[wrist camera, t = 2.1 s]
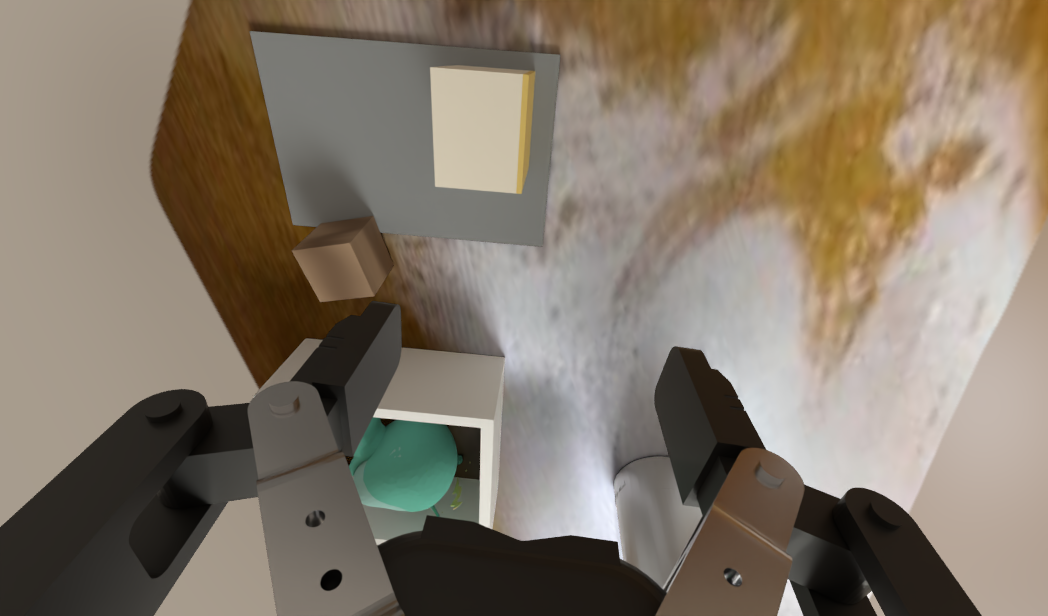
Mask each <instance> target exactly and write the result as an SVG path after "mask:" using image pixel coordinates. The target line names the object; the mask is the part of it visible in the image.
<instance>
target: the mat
mask: <svg viewBox="0 0 1048 616" xmlns="http://www.w3.org/2000/svg"><path fill="white" fill-rule="evenodd" d="M250 35H251V39H252V44H253V48H254V53H255V57H256V62H257V66H258V70H259V75H260V79H261V84H262V88H263V93H264V97H265V102H266V106H267V111H268V115H269V120H270V124H271V129H272V133H273V138H274V142H275V146H276V151H277V155H278V160H279V164H280V169H281V173H282V178H283V182H284V187H285V191H286V196H287V200H288V205H289V209H290V213H291V218H292V222H293V225H300V226H311V227H318V226H319V225H320V224H321V223H327V222H334V221H341V220H348V219H355V218H362V217H369V216H374V219H375V221H376V224H377V226H378V228H379V231H380V233H391V234H402V235H413V236H425V237H436V238H447V239H459V240H470V241H481V242H493V243H504V244H515V245H527V246H538V247H542V245H543V234H544V224H545V213H546V202H547V192H548V181H549V170H550V160H551V149H552V139H553V128H554V117H555V107H556V96H557V85H558V75H559V64H560V55H557V54H544V53H530V52H517V51H504V50H491V49H478V48H465V47H452V46H438V45H425V44H412V43H399V42H386V41H373V40H360V39H346V38H333V37H320V36H307V35H294V34H281V33H268V32H255V31H250ZM453 65H463V66H476V67H489V68H502V69H515V70H528V71H535V84H534V99H533V113H532V127H531V142H530V156H529V168H528V172H527V175H526V179H525V183H524V186H523V190H522V194H515V193H504V192H492V191H480V190H468V189H456V188H445V187H435V173H434V149H433V125H432V101H431V78H430V67H439V66H453Z"/></svg>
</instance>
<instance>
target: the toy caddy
mask: <svg viewBox="0 0 1048 616" xmlns="http://www.w3.org/2000/svg"><path fill="white" fill-rule="evenodd" d="M322 341H323V340H319V339H309V338H306V339H305V340H304V341H303V342H302V343H301V344H300V345H299V346H298V347H297V349H296V350H295V351H294V352H293V353H292V354H291V355H290V356H289V357H288V358H287V360H286V361H285V362H284V363H283V364H282V365H281V366H280V367H279V368H278V370H277V371H276V372H275V373H274V374H273V375H272V376H271V377H270V378H269V380H268V381H267V382H266V383H265V384H264V385H263V386H262V387H261V388H260V390H259V391H258V392H257V393H256V394H255V395H254V397H255V396H256V395H257V394H258V393H259V392H261V391H262V390H264V389H266V388H268V387H270V386H272V385H275V384H278V383H283V382H289V381H290V380H291V379H292V378H293V376H294V375H295V374H296V373H297V371H298V370H299V369H300V368H301V367H302V365H303V364H304V363H305V362H306V360H307V359H308V358H309V357H310V355H311V354H312V353H313V352H314V350H315V349H316V348H318V347H319V344H320V343H321V342H322ZM504 368H505V357H497V356H487V355H476V354H466V353H455V352H445V351H435V350H424V349H414V348H403V347H402V349H401V357H400V361H399V365H398V368H397V370H396V372H395V374H394V376H393V378H392V380H391V382H390V384H389V386H388V388H387V390H386V392H385V394H384V396H383V398H382V400H381V402H380V404H379V406H378V408H377V410H376V412H375V414H374V416H373V417H376V418H386V419H396V420H406V421H416V422H426V423H436V424H446V425H456V426H466V427H476V428H481V449H480V480H478V479H469V478H459V477H458V480H459V486H461V487H462V490H461V495H460V497H459V499H458V501H457V502H462V503H461V504H460V505H459V506H458V507H457V508H455V509H454V506H450V505H451V504H452V502H453V501H454V499H455V498H456V496H457V494H453V492H454V489H455V486H456V482H457V477H454V478H453V481H452V483H451V485H450V487H449V489H448V490H447V492H446V493H445V495H444V496H443V497H442V498H441V499H440V500H439V501H438V502H437V503H436V504H434V506H435V508H436V510H437V512H438V513H439V515H440V517H444V518H451V519H458V520H465V521H472V522H476V523H478V524H481V525H483V526H485V527H488V528H490V529H492V527H493V520H494V513H495V506H496V499H497V492H498V481H499V462H500V443H501V424H502V406H503V387H504ZM352 477H353V478H354V476H352ZM452 494H453V495H452ZM362 505H363V508H364V511H365V513H366V516H367V519H368V522H369V524H370V527H371V530H372V533H373V536H374V538H375V541H376V544H377V545H379V544H381V543H383V542H385V541H387V540H389V539H392V538H394V537H397V536H400V535H403V534H407V533H411V532H415V531H422V530H423V527H424V523H425V519H426V516H427V515H430V516H436V514H435V513H434V512H433V510H432V509H431V507H430V508H428V509H425V510H422V511H417V512H408V511H396V510H391V509H387V508H379V507H370V506H367V505H364V504H362ZM453 509H454V510H453ZM442 512H443V513H442Z"/></svg>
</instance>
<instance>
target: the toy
mask: <svg viewBox="0 0 1048 616" xmlns="http://www.w3.org/2000/svg"><path fill="white" fill-rule="evenodd" d="M462 461H463V458H462V456H461V455H457V448H456V443H455V440H454V438H453V436H452V434H451V432H450V430H449V429H448V427H447V426H446V425H445V424H436V423H426V422H416V421H406V420H395V421H393V422H392V423H390V424H389V425H387V426H386V427H385V426H384V425H383V424H382V423H381V420H380V418H376V417H373V418H372V420H371V422H370V424H369V426H368V428H367V430H366V432H365V434H364V436H363V438H362V440H361V442H360V444H359V446H358V448H357V450H356V452H355V454H354V457H353V459H352V461H351V463H350V465H349V469H350V472H351V474H352V476H354V478H353V480H354V483H355V485H356V488H357V491H358V494H359V497H360V499H361V502H362V504H364V505H367V506H370V507H379V508H387V509H391V510H396V511H408V512H417V511H422V510H425V509H428V508H430V507H431V509H432V510H433V512H434V513H435V514H436V516H437V517H440V515H439V513H438V512H437V510H436V508H435V506H434V504H436V503H437V502H438V501H439V500H440V499H441V498H442V497H443V496H444V495H445V493H446V492H447V490H448V489H449V487H450V485H451V483H452V481H453V478H454V475H455V472H456V468H457V465H459V464H461V463H462ZM470 463H471V462H470ZM470 463H469V464H470ZM465 471H467V470H465ZM461 490H462V487H461V486H459V480H458V476H457V482H456V486H455V489H454V492H453V494H457V496H456V498H455V499H454V501H453V502H452V504H451V505H450V506H454V509H455V508H457V507H458V506H459V505H460V504H461V503H462V502H457V501H458V499H459V497H460V495H461ZM453 494H452V495H453ZM454 509H453V510H454ZM442 513H443V512H442Z"/></svg>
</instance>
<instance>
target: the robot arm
mask: <svg viewBox="0 0 1048 616" xmlns="http://www.w3.org/2000/svg"><path fill="white" fill-rule="evenodd" d="M401 349H402V342H401V309H400V306H399V305H397V304H391V303H384V302H377V301H372V302H371V303H370V304H369V305H368V307H367V308H366V309H365V311H364V312H363V314H362V315H361V316H354V315H350V316H349V317H347V318H345V319H344V320H342V321H340V322H338V323H337V324H335V326H334V327H333V328H332V329H331V331H330V332H329V333H328V334H327V337H326V338H324V339H323V341H322V342H321V343H320V344H319V347H318V348H316V349H315V350H314V352H313V353H312V354H311V355H310V357H309V358H308V359H307V360H306V362H305V363H304V364H303V365H302V367H301V368H300V369H299V370H298V371H297V373H296V374H295V375H294V376H293V378H292V379H291V380H290V381H289V382H283V383H278V384H275V385H272V386H270V387H268V388H266V389H264V390H262V391H261V392H259V393H258V394H257V395H256V396H255V397H254V398H253V399H252V400H251V402H250V403H245V404H234V405H224V406H214V407H208V405H207V402H206V400H205V398H204V396H203V395H202V394H200V393H199V392H196V391H193V390H186V389H179V390H171V391H166V392H162V393H159V394H156V395H153V396H150V397H149V398H146V399H144V400H142V401H140V402H139V403H137V404H136V405H134V406H133V407H132V408H130V409H129V410H128V411H127V412H126V413H125V414H124V415H123V416H122V417H120V418H119V419H118V420H117V421H116V422H115V423H114V424H113V425H112V426H111V427H109V428H108V429H107V430H106V431H105V432H104V433H103V434H102V435H101V436H100V437H99V438H97V439H96V440H95V441H94V442H93V443H92V444H91V445H90V446H89V447H88V448H86V449H85V450H84V451H83V452H82V453H81V454H80V455H79V456H78V457H77V458H76V459H74V460H73V461H72V462H71V463H70V464H69V465H68V466H67V467H66V468H65V469H63V471H61V472H60V473H59V474H58V475H57V476H56V477H55V478H54V479H53V480H51V482H49V483H48V484H47V485H46V486H45V487H44V488H43V489H42V490H41V491H40V492H38V493H37V494H36V495H35V496H34V497H33V498H32V499H31V500H30V501H28V502H27V503H26V504H25V505H24V506H23V507H22V508H21V509H20V510H19V511H18V512H16V513H15V514H14V515H13V516H12V517H11V518H10V519H9V520H8V521H7V522H6V523H4V524H3V525H2V526H1V527H0V616H154V614H155V613H156V611H157V610H158V608H159V607H160V605H161V604H162V602H163V600H164V599H165V598H166V596H167V594H168V593H169V591H170V590H171V588H172V587H173V585H174V584H175V582H176V581H177V579H178V578H179V576H180V575H181V573H182V572H183V570H184V568H185V567H186V565H187V564H188V562H189V561H190V559H191V558H192V556H193V555H194V553H195V552H196V550H197V549H198V547H199V546H200V544H201V543H202V541H203V540H204V538H205V536H206V535H207V533H208V532H209V530H210V529H211V527H212V526H213V524H214V523H215V521H216V520H217V518H218V517H219V515H220V513H221V512H222V510H223V509H224V507H225V506H226V504H227V503H228V501H234V500H240V499H247V498H253V497H258V498H259V504H260V511H261V516H262V523H263V530H264V536H265V543H266V548H267V555H268V561H269V568H270V574H271V580H272V587H273V593H274V599H275V605H276V612H277V616H777V614H778V610H779V607H780V603H781V600H782V597H783V593H784V590H785V586H786V583H787V579H789V580H790V582H791V585H792V587H793V590H794V593H795V595H796V598H797V600H798V603H799V605H800V608H801V610H802V613H803V616H877V614H876V613H875V611H874V609H873V607H872V605H871V603H870V601H869V599H868V597H867V594H868V593H870V592H871V591H872V592H873V594H874V596H875V597H876V599H877V601H878V603H879V605H880V607H881V609H882V610H883V612H884V614H885V616H981V614H980V613H979V611H978V610H977V608H976V607H975V606H974V604H973V603H972V601H971V600H970V599H969V597H968V596H967V594H966V593H965V591H964V590H963V589H962V587H961V586H960V584H959V583H958V582H957V580H956V579H955V577H954V576H953V575H952V573H951V572H950V570H949V569H948V568H947V566H946V565H945V563H944V562H943V561H942V559H941V558H940V556H939V555H938V554H937V552H936V551H935V549H934V548H933V547H932V545H931V543H930V542H929V541H928V539H927V538H926V536H925V535H924V534H923V533H922V531H921V530H920V528H919V527H918V525H917V524H916V522H915V521H914V520H913V519H912V518H911V516H910V515H909V514H908V513H907V512H906V511H904V510H903V509H902V508H901V507H900V506H899V505H897V504H896V503H895V502H893V501H892V500H890V499H889V498H887V497H885V496H883V495H881V494H879V493H877V492H875V491H872V490H869V489H865V488H852V489H850V490H848V491H847V492H846V494H845V495H844V496H843V497H842V498H841V499H839V498H837V497H834V496H831V495H829V494H826V493H824V492H821V491H819V490H816V489H814V488H811V487H809V486H806V485H804V483H803V480H802V478H801V477H800V475H799V474H798V472H797V471H796V470H795V469H794V468H793V466H791V465H790V464H789V463H788V462H787V461H786V460H784V459H783V458H781V457H780V456H778V455H776V454H774V453H772V452H770V451H768V450H766V448H765V447H764V445H763V443H762V441H761V439H760V437H759V435H758V433H757V431H756V430H755V428H754V426H753V424H752V422H751V420H750V418H749V416H748V414H747V413H746V411H744V407H743V405H742V403H741V401H740V400H739V399H738V396H737V394H736V392H735V390H734V388H733V386H732V384H731V383H730V382H729V381H728V380H727V379H726V378H725V377H724V376H723V375H722V374H721V373H720V372H719V371H718V370H715V369H711V368H710V366H709V364H708V362H707V359H706V357H705V355H704V353H703V352H702V351H701V350H696V349H689V348H683V347H676V346H675V347H673V348H672V349H671V351H670V353H669V355H668V358H667V360H666V363H665V365H664V368H663V371H662V373H661V376H660V378H659V381H658V383H657V386H656V390H655V399H654V401H655V408H656V411H657V415H658V419H659V422H660V426H661V429H662V433H663V436H664V440H665V444H666V447H667V451H668V454H669V457H663V456H658V457H648V458H642V459H639V460H636V461H634V462H632V463H630V464H628V465H626V466H625V467H624V468H623V469H621V470H620V472H619V473H618V474H617V476H616V478H615V480H614V492H615V503H616V508H617V515H618V523H619V531H620V539H621V546H622V554H623V560H622V559H620V558H619V550H618V542H615V541H608V540H600V539H593V538H586V537H579V536H572V535H570V536H562V537H554V538H546V539H538V540H530V541H520V540H517V539H514V538H512V537H509V536H507V535H505V534H502V533H500V532H497V531H495V530H493V529H490V528H488V527H485V526H483V525H481V524H478V523H476V522H472V521H465V520H458V519H451V518H444V517H437V516H430V515H427V516H426V519H425V523H424V527H423V530H422V531H415V532H411V533H407V534H403V535H400V536H397V537H394V538H392V539H389V540H387V541H385V542H383V543H381V544H379V545H377V544H376V541H375V538H374V536H373V533H372V530H371V527H370V524H369V522H368V519H367V516H366V513H365V511H364V508H363V505H362V502H361V499H360V497H359V494H358V491H357V488H356V485H355V483H354V480H353V477H352V474H351V472H350V469H349V466H348V463H347V460H346V458H345V456H350V457H353V456H354V454H355V452H356V450H357V448H358V446H359V444H360V442H361V440H362V438H363V436H364V434H365V432H366V430H367V428H368V426H369V424H370V422H371V420H372V418H373V416H374V414H375V412H376V410H377V408H378V406H379V404H380V402H381V400H382V398H383V396H384V394H385V392H386V390H387V388H388V386H389V384H390V382H391V380H392V378H393V376H394V374H395V372H396V370H397V368H398V365H399V361H400V357H401Z"/></svg>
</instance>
